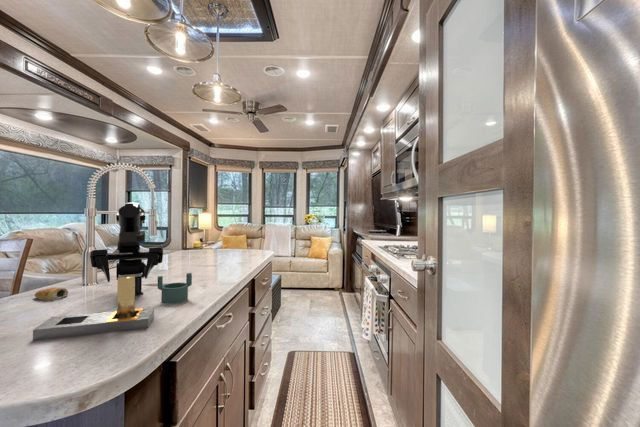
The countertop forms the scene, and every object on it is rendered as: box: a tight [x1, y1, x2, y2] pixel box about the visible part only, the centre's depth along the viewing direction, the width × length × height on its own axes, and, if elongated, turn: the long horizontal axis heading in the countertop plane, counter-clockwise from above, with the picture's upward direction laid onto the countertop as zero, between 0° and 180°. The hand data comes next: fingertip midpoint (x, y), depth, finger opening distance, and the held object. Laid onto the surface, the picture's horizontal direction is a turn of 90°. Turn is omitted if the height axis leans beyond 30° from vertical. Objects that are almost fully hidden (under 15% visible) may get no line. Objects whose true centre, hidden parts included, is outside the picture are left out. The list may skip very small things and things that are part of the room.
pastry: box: [34, 287, 69, 301], centre depth 103 cm, size 9×7×4 cm
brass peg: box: [116, 275, 136, 319], centre depth 81 cm, size 4×4×13 cm
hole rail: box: [32, 307, 155, 341], centre depth 78 cm, size 24×9×3 cm, turn 111°
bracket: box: [157, 272, 193, 305], centre depth 103 cm, size 9×9×9 cm
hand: (127, 279), depth 87 cm, fingers open, 9 cm apart
